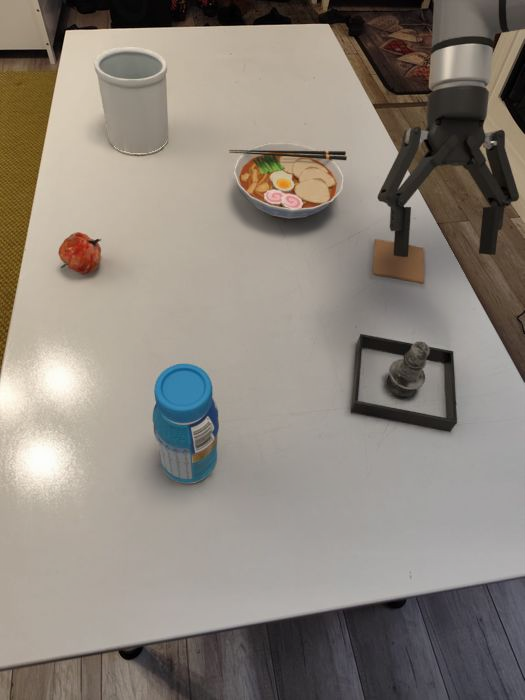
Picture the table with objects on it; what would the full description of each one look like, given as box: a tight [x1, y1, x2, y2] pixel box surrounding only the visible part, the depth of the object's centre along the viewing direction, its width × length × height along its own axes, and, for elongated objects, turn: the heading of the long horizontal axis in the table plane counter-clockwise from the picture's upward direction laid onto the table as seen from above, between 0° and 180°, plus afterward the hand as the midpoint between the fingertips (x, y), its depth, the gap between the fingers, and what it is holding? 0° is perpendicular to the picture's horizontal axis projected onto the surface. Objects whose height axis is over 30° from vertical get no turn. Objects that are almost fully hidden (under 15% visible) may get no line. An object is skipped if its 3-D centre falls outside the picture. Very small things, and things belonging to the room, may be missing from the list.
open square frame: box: [350, 333, 458, 432], centre depth 86 cm, size 16×14×3 cm
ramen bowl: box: [228, 141, 348, 220], centre depth 109 cm, size 25×23×8 cm
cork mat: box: [372, 238, 425, 284], centre depth 104 cm, size 10×10×1 cm
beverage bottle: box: [152, 363, 220, 484], centre depth 68 cm, size 8×8×20 cm
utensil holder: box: [93, 46, 169, 156], centre depth 115 cm, size 15×15×18 cm
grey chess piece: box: [384, 341, 430, 400], centre depth 82 cm, size 6×6×12 cm
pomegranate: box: [58, 231, 102, 275], centre depth 94 cm, size 7×7×10 cm
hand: (444, 255), depth 73 cm, fingers open, 13 cm apart
